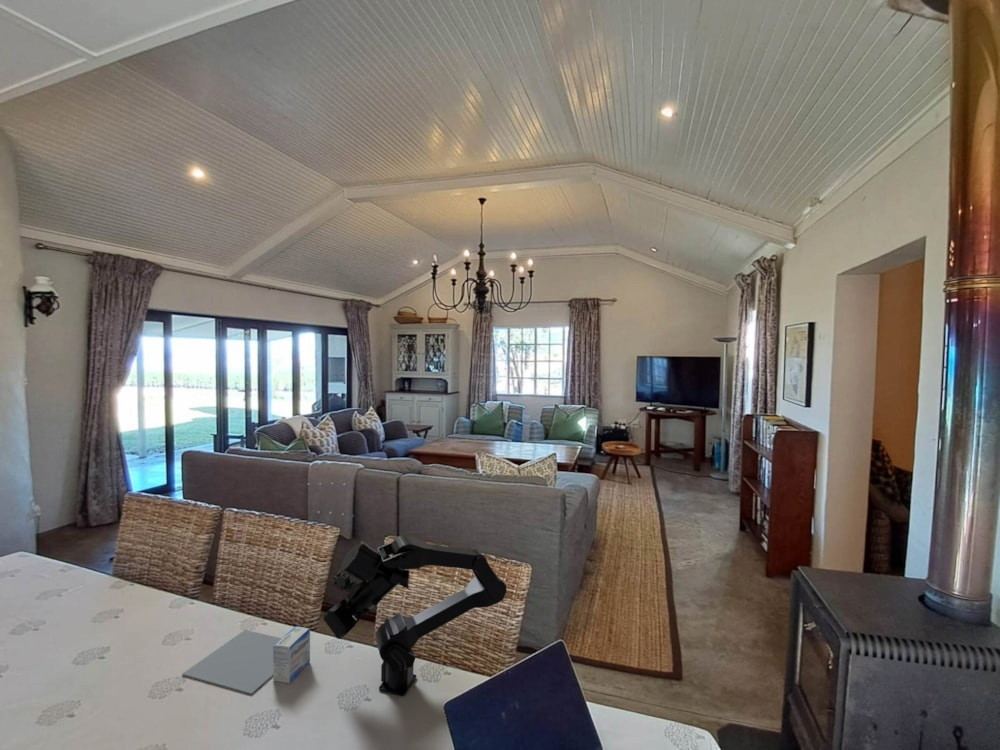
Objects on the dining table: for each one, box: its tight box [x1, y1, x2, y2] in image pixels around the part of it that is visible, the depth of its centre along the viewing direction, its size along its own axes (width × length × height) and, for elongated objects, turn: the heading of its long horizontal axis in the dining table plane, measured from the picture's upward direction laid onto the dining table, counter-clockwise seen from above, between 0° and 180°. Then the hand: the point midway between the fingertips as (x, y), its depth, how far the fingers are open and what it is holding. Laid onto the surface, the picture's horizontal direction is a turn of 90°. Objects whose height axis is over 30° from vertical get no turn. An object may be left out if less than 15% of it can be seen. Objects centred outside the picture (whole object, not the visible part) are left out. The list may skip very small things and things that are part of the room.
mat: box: [181, 629, 283, 696], centre depth 111 cm, size 20×18×1 cm
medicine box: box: [272, 625, 311, 684], centre depth 108 cm, size 8×4×9 cm, turn 168°
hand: (336, 623), depth 106 cm, fingers closed
